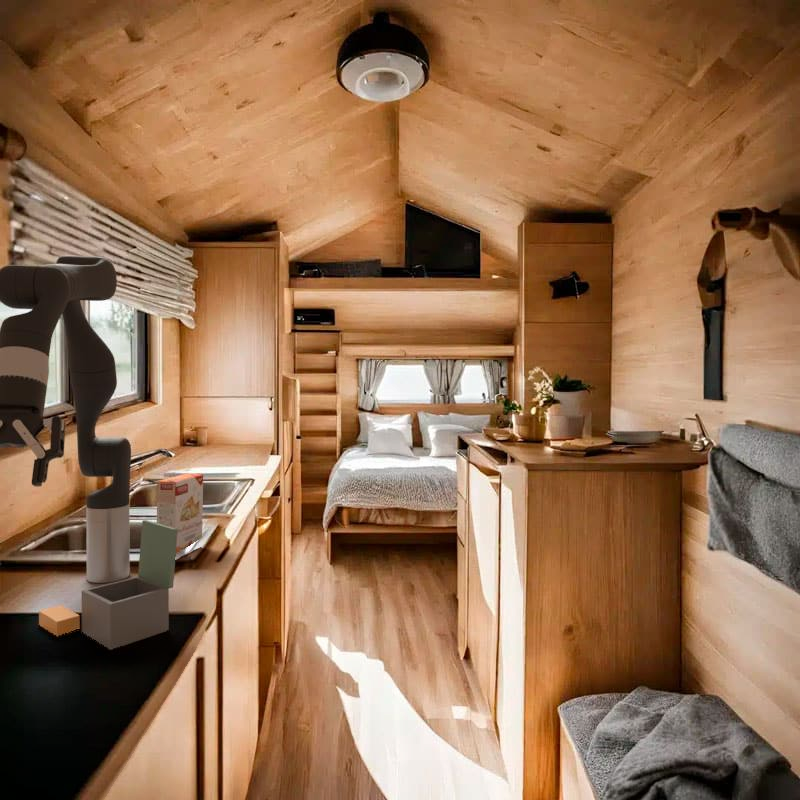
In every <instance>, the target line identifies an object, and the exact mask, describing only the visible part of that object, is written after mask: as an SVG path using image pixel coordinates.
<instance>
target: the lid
mask: <svg viewBox="0 0 800 800" xmlns="http://www.w3.org/2000/svg"><path fill="white" fill-rule="evenodd" d="M177 531H178V529H175V528H172V527H169V526H165V525H162V524H158V523H157V522H156V521H152V520H151V521H150V520H147V519H144V520H142V523H141V534H140V546H139V547H140V549H139V559H138V561H139V562H138V571H137V572H138V573H137V576H140V577H142V578H145V579H147V580H149V581H152V582H154V583H157V584H159V585H162V586H164V587H167V588H169V589H174V583H175V582H174V580H175V579H174V578H175V570H176V569H175V568H176V567H175V566H176V561H175V557H176V544H177Z"/></svg>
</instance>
